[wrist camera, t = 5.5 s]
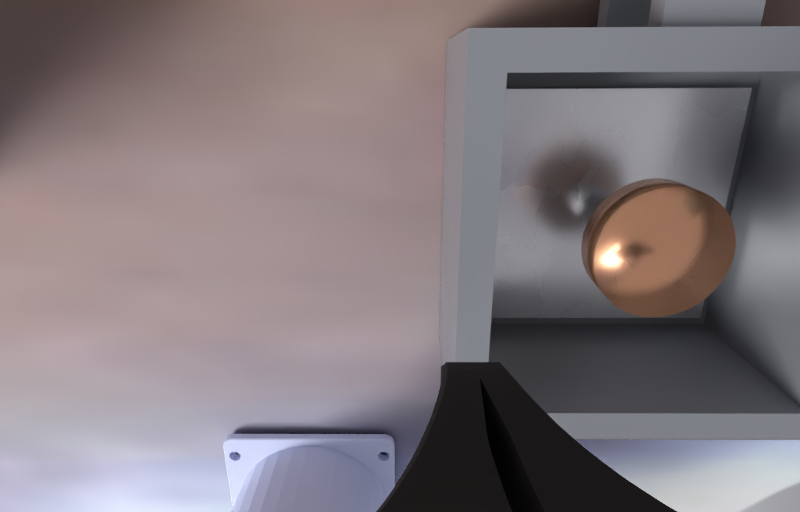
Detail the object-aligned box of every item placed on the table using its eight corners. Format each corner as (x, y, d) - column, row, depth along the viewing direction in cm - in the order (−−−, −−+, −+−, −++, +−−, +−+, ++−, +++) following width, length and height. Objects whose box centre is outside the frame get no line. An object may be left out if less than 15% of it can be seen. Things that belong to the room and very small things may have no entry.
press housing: (714, 337, 22) (831, 439, 16) (439, 337, 22) (452, 439, 16) (807, -53, 17) (1031, -118, 11) (448, -50, 17) (473, -113, 11)
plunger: (692, 311, 21) (778, 384, 16) (479, 311, 21) (501, 384, 16) (741, 87, 18) (866, 95, 13) (491, 88, 18) (524, 96, 13)
